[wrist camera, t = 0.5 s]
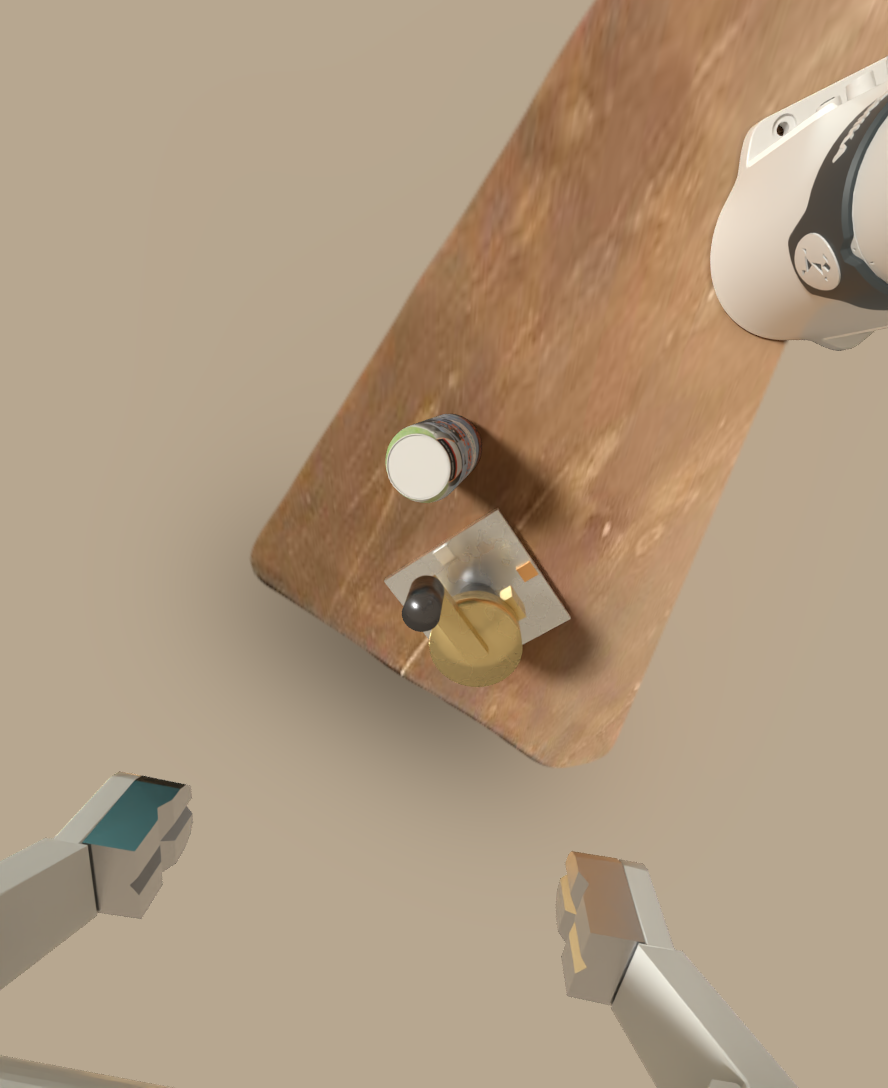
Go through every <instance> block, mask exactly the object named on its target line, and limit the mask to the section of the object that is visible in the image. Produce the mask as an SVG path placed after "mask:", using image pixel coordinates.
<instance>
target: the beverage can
mask: <svg viewBox="0 0 888 1088" xmlns="http://www.w3.org/2000/svg"><path fill="white" fill-rule="evenodd" d="M481 453H482V442H481V437H480V435H479V432H478V431H477V429H476V427H475V426H474V425H473V424H472V423H471V422H470V421H469V420H467V419H466V418H464V417H462V416H459V415H456V414H444V415H440V416H437V417H434V418H431V419H428V420H425V421H422V422H419V423H416V424H414V425H411V426H408V427H406V428H404V429H403V430H401V431H400V432H398V433H397V435H396V436H395V437H394V438H393V439H392V441H391V442H390V444H389V447H388V449H387V454H386V470H387V474H388V477H389V479H390V481H391V483H392V484H393V486H394V487H395V488H396V489H397V491H398V492H399V493H401V494H402V495H403V496H405V497H406V498H408V499H410V500H413V501H416V502H422V503H430V502H435V501H438V500H441V499H443V498H444V497H446V496H448V495H449V494H450V493H451V492H452V491H453V490H454V489H455V488H456V487H457V486H458V485H459V484H460V483H461V482H462V481H463V480H464V479H465V478H466V477H467V476H468V475H469V474H470V473H471V471H472V470H473V469H474V468H475V467H476V466H477V464H478V462H479V460H480V457H481Z"/></svg>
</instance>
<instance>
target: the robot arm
mask: <svg viewBox="0 0 888 1088" xmlns="http://www.w3.org/2000/svg"><path fill="white" fill-rule="evenodd" d="M778 126H781V127H782V128H783V130H784V133H783V136H779V135H778V134H777V127H778ZM710 265H711V276H712V281H713V285H714V289H715V292H716V295H717V297H718V299H719V301H720V303H721V305H722V307H723V308H724V310H725V311H726V312H727V314H728V315H729V316H730V317H731V318H732V319H733V320H734V321H735V322H736V323H737V324H738V325H739V326H741V327H742V328H744V329H745V330H747V331H749V332H751V333H753V334H755V335H758V336H761V337H764V338H769V339H775V340H810V341H813V342H815V343H817V344H819V345H821V346H823V347H826V348H829V349H832V350H837V351H841V350H846V349H851V348H853V347H855V346H857V345H858V344H860V343H861V342H862V341H863V340H865V339H866V338H867V337H868V336H869V335H871V334H872V333H873V332H874V331H875V330H879V329H884V328H888V56H887V57H885V58H883V59H881V60H879V61H877V62H875V63H873V64H871V65H869V66H868V67H866V68H864V69H862V70H860V71H858V72H856V73H854V74H852V75H850V76H848V77H846V78H844V79H842V80H840V81H838V82H836V83H834V84H832V85H830V86H828V87H826V88H824V89H822V90H820V91H818V92H816V93H814V94H812V95H810V96H808V97H806V98H804V99H802V100H800V101H798V102H796V103H794V104H792V105H790V106H788V107H786V108H784V109H782V110H780V111H778V112H776V113H774V114H772V115H770V116H768V117H767V118H765V119H763V120H762V121H760V122H758V123H757V124H755V125H754V126H753V127H752V128H751V129H750V130H749V131H748V133H747V135H746V137H745V140H744V143H743V146H742V151H741V157H740V163H739V171H738V177H737V180H736V182H735V185H734V187H733V189H732V191H731V193H730V195H729V197H728V199H727V201H726V203H725V205H724V207H723V209H722V211H721V213H720V216H719V218H718V221H717V224H716V227H715V231H714V235H713V239H712V245H711V257H710ZM191 798H192V794H191V786H189V785H186V784H181V783H176V782H171V781H166V780H162V779H157V778H152V777H147V776H141V775H136V774H131V773H125V772H120V771H119V772H118V773H116V774H114V775H112V776H111V777H110V778H109V779H108V780H107V781H106V782H105V783H104V784H103V786H101V787H100V789H99V790H98V791H97V792H96V793H95V794H94V795H93V796H92V797H91V798H90V799H89V800H88V802H87V803H86V804H85V805H84V806H83V807H82V808H81V809H80V811H78V812H77V813H76V815H75V816H74V817H73V818H72V819H71V820H70V821H69V822H68V823H67V825H66V826H65V827H64V828H63V829H62V830H61V831H60V832H59V833H58V834H57V835H56V836H55V837H54V838H53V839H52V838H44V839H42V840H40V841H38V842H37V843H35V844H33V845H31V846H29V847H27V848H25V849H23V850H21V851H19V852H17V853H15V854H13V855H11V856H9V857H8V858H6V859H4V860H2V861H0V990H1V989H3V988H4V987H5V986H6V985H8V984H9V983H10V982H12V981H13V980H14V979H16V978H17V977H18V976H19V975H21V974H22V973H23V972H25V971H26V970H27V969H29V968H30V967H31V966H32V965H34V964H35V963H36V962H38V961H39V960H40V959H41V958H43V957H44V956H45V955H47V954H48V953H49V952H51V951H52V950H53V949H55V947H57V946H58V945H60V944H61V943H62V942H64V941H65V940H66V939H67V938H69V937H70V936H71V935H73V934H74V933H75V932H77V931H78V930H79V929H80V928H82V927H83V926H84V925H86V924H87V923H88V922H90V920H92V919H93V918H95V917H96V916H97V913H104V914H111V915H118V916H124V917H131V918H138V919H141V918H142V917H143V915H144V914H145V912H146V910H147V909H148V907H149V906H150V904H151V903H152V901H153V899H154V898H155V896H156V894H157V893H158V891H159V890H160V888H161V887H162V872H163V871H165V870H167V869H168V868H170V867H171V866H173V865H174V864H176V862H177V861H178V859H179V857H180V856H181V854H182V852H183V851H184V849H185V846H186V843H187V841H188V839H189V836H190V834H191V828H192V823H193V818H192V813H191V811H190V810H189V809H188V807H187V804H188V803H189V801H190V800H191ZM566 870H567V875H565V876H563V877H562V878H560V882H559V885H558V889H557V897H556V920H557V928H558V932H559V934H560V935H561V937H562V938H563V939H564V941H565V942H566V944H565V947H564V950H563V953H562V956H561V957H562V964H563V971H564V978H565V985H566V992H567V996H569V997H574V998H579V999H583V1000H588V1001H593V1002H597V1003H602V1004H607V1005H611V1006H612V1007H611V1009H612V1011H613V1013H614V1015H615V1016H616V1018H617V1020H618V1021H619V1023H620V1025H621V1027H622V1028H623V1030H624V1032H625V1033H626V1035H627V1037H628V1039H629V1040H630V1042H631V1044H632V1046H633V1047H634V1049H635V1051H636V1053H637V1054H638V1056H639V1058H640V1059H641V1061H642V1063H643V1065H644V1066H645V1068H646V1070H647V1071H648V1073H649V1075H650V1077H651V1078H652V1080H653V1082H654V1084H655V1085H656V1087H657V1088H798V1086H797V1085H796V1084H795V1083H794V1082H793V1080H792V1079H791V1078H790V1077H789V1076H788V1075H787V1074H786V1072H785V1071H784V1070H783V1069H782V1068H781V1066H780V1065H779V1064H778V1063H777V1062H776V1061H775V1059H774V1058H773V1057H772V1056H771V1055H770V1053H769V1052H768V1051H767V1050H766V1049H765V1048H764V1046H763V1045H762V1044H761V1043H760V1042H759V1041H758V1039H757V1038H756V1037H755V1036H754V1035H753V1033H752V1032H751V1031H750V1030H749V1029H748V1028H747V1027H746V1025H745V1024H744V1023H743V1022H742V1021H741V1019H740V1018H739V1017H738V1016H737V1015H736V1014H735V1012H734V1011H733V1010H732V1009H731V1008H730V1006H728V1004H727V1003H726V1002H725V1001H724V999H722V997H721V996H720V995H719V994H718V992H717V991H716V990H715V989H714V988H713V986H712V985H711V984H710V983H709V982H708V981H707V979H706V978H705V977H704V976H703V975H702V974H701V972H700V971H699V970H698V969H697V968H696V966H695V965H694V964H693V963H692V962H691V961H690V959H689V958H688V957H687V956H686V955H685V954H684V952H683V951H679V950H675V948H674V946H673V943H672V940H671V937H670V934H669V931H668V928H667V925H666V922H665V919H664V916H663V913H662V910H661V908H660V905H659V902H658V899H657V896H656V893H655V890H654V887H653V884H652V881H651V878H650V875H649V872H648V869H647V868H646V866H645V865H644V864H643V863H637V862H631V861H625V860H618V859H616V858H611V857H605V856H598V855H591V854H586V853H579V852H573V851H571V852H570V853H569V855H568V857H567V860H566ZM0 1088H173V1087H168V1086H162V1085H157V1084H152V1083H146V1082H141V1081H135V1080H130V1079H125V1078H119V1077H114V1076H109V1075H104V1074H98V1073H93V1072H87V1071H82V1070H76V1069H72V1068H66V1067H61V1066H55V1065H50V1064H44V1063H39V1062H34V1061H29V1060H23V1059H17V1058H13V1057H7V1056H2V1055H0Z"/></svg>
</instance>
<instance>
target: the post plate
mask: <svg viewBox="0 0 888 1088" xmlns="http://www.w3.org/2000/svg"><path fill="white" fill-rule="evenodd" d="M424 575H429V576H434V575H436V576H437V578H438V579H439V580H440V582H441V583H442V584H443V586H444V587H445V588H446V590H447V591H448V592H449V594H450V595H451V597H453V596H455V595H457V594H459V593H462V592H467V591H484V592H489V593H492V594H494V595H497V596H499V597H500V591H502V590H503V589H505V588H507V587H508V586H510V585H511V586H512V588H513V589H514V591H515V592H516V593H517V595H518V596H519V598H520V599H521V601H522V602H523V603H524V605H525V612H526V617H525V618H523V619H521V620H520V621H519V623H520V631H521V638H522V645H523V644H525V643H527V642H529V641H530V640H532V639H534V638H536V637H538V636H540V635H542V634H544V633H545V632H547V631H549V630H551V629H553V628H555V627H557V626H558V625H560V624H562V623H564V622H566V621H568V620H570V619H571V617H570V614H569V612H568V611H567V610H566V608H565V607H564V605H563V604H562V602H561V601H560V599H559V598H558V596H557V595H556V593H555V592H554V590H553V589H552V587H551V586H550V584H549V583H548V581H547V580H546V578H545V577H544V575H543V574H542V572H541V571H540V569H539V568H538V566H537V565H536V563H535V562H534V560H533V559H532V557H531V556H530V554H529V553H528V551H527V550H526V548H525V547H524V545H523V544H522V543H521V541H520V540H519V538H518V537H517V535H516V534H515V532H514V531H513V529H512V528H511V526H510V525H509V523H508V522H507V520H506V519H505V517H504V516H503V514H502V513H501V511H500V510H499V508H498V507H497V508H495V509H494V510H492V511H491V512H489V513H487V514H486V515H484V516H483V517H481V518H479V519H478V520H476V521H475V522H473V523H472V524H470V525H468V526H467V527H465V528H464V529H462V530H460V531H459V532H457V533H456V534H454V535H452V536H451V537H449V538H448V539H446V540H445V541H443V542H441V543H440V544H438V545H437V546H435V547H433V548H432V549H430V550H429V551H427V552H425V553H424V554H422V555H421V556H419V557H417V558H416V559H414V560H413V561H411V562H410V563H408V564H406V565H405V566H403V567H402V568H400V569H398V570H397V571H395V572H394V573H392V574H390V575H389V576H387V577H386V578H385V580H384V582H385V583H386V584H387V586H388V587H389V588H390V590H391V591H392V592H393V593H394V595H395V596H396V597H397V599H398V600H399V601H400V603H401V604H402V605H403V606H404V604H405V601H406V598H407V595H408V592H409V589H410V586H411V584H412V582H413V581H414V580H415V579H416V578H418V577H420V576H424ZM431 631H432V629H431V630H429V631H425V632H424V634H425V635H426V636H427V637H428V639H429V637H430V632H431Z"/></svg>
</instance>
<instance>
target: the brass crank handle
mask: <svg viewBox="0 0 888 1088" xmlns="http://www.w3.org/2000/svg"><path fill="white" fill-rule="evenodd" d="M525 617H526V612H525V605H524V603H523V602H522V601H521V599H520V598H519V596H518V595H517V593H516V592H515V591H514V589H513V588H512V586H511V585H510V586H508V587H507V588H505V589H503V590H502V591H500V597H499V596H497V595H494V594H492V593H489V592H484V591H467V592H462V593H459V594H457V595H455V596H453V597H451V595H450V594H449V592H448V591H447V590H446V588H445V587H444V586H443V584H442V583H441V582H440V580H439V579H438V578H437V576H436V575H434V576H429V575H424V576H420V577H418V578H416V579H415V580H414V581H413V582H412V584H411V586H410V589H409V592H408V595H407V598H406V601H405V604H404V607H403V610H402V618H403V620H404V622H405V624H406V625H407V626H408V627H409V628H411V629H413V630H415V631H419V632H425V631H429V630H431V629H432V631H431V632H430V637H429V642H428V645H429V648H430V654H431V657H432V660H433V662H434V664H435V665H436V667H437V668H438V670H439V671H440V672H441V673H442V674H443V675H444V676H446V677H447V678H449V679H450V680H452V681H454V682H456V683H458V684H461V685H465V686H471V687H484V686H489V685H493V684H496V683H498V682H500V681H502V680H504V679H505V678H507V677H508V676H509V675H510V674H511V673H512V672H513V671H514V670H515V669H516V667H517V665H518V664H519V662H520V659H521V655H522V638H521V631H520V623H519V621H520V620H521V619H523V618H525Z"/></svg>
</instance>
